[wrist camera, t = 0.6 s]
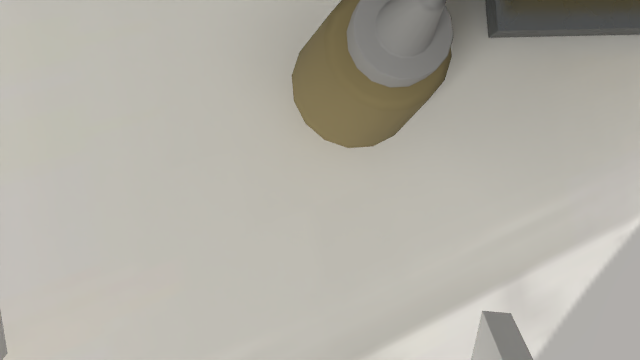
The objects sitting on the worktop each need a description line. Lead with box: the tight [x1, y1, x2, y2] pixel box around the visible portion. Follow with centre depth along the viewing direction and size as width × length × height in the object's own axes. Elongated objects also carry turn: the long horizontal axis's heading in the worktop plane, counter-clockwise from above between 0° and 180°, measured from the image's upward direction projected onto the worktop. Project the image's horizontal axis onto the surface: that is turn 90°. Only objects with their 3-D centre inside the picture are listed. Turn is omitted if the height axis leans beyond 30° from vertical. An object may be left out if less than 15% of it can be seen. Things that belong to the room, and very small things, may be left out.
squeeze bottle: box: [292, 0, 453, 148], centre depth 30 cm, size 8×8×18 cm
